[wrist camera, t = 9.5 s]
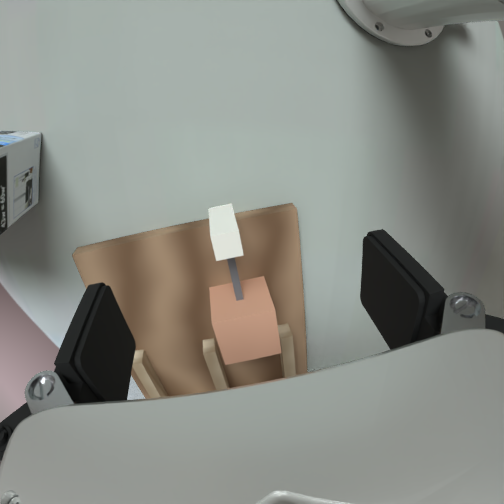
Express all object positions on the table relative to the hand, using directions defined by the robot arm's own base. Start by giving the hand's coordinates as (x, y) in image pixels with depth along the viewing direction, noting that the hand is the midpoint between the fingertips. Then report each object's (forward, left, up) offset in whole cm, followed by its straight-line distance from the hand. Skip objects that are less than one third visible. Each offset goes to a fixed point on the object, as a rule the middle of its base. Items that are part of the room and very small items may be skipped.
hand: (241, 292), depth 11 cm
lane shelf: (+4, +15, -17) cm, 22 cm away
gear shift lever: (0, +8, -15) cm, 17 cm away
